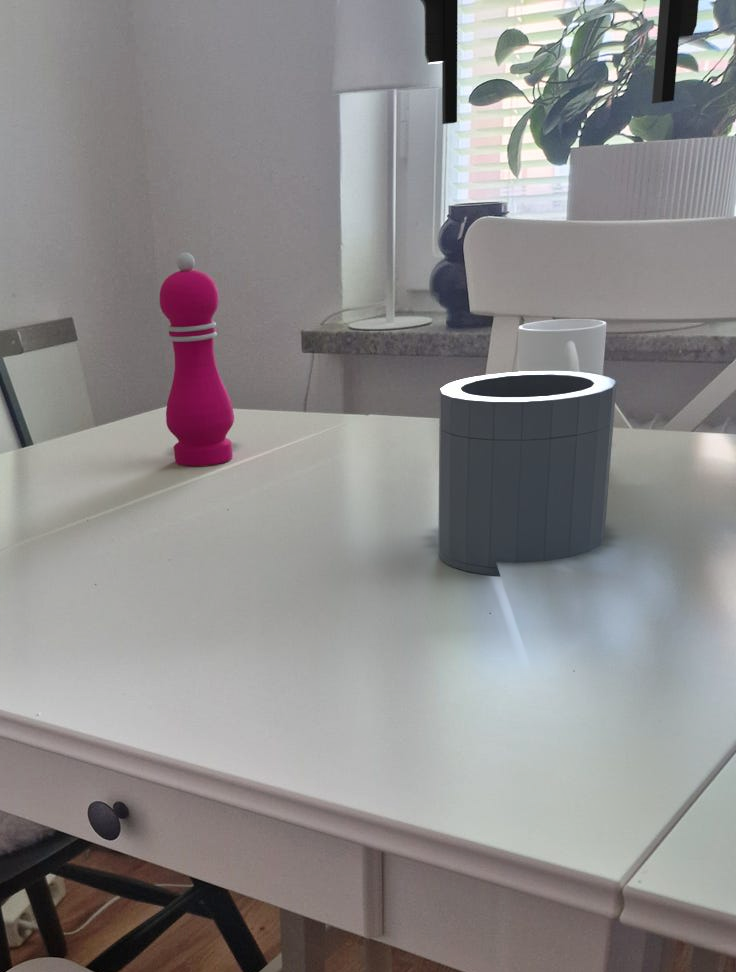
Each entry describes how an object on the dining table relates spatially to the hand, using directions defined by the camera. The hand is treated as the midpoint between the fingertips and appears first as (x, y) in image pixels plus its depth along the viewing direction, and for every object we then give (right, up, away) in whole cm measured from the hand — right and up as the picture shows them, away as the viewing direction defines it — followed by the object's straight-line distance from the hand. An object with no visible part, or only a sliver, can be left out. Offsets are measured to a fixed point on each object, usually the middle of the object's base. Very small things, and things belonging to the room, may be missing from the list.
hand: (555, 113), depth 76 cm
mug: (+10, -10, +38) cm, 41 cm away
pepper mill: (-25, -6, +50) cm, 56 cm away
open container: (+1, -25, +13) cm, 28 cm away
